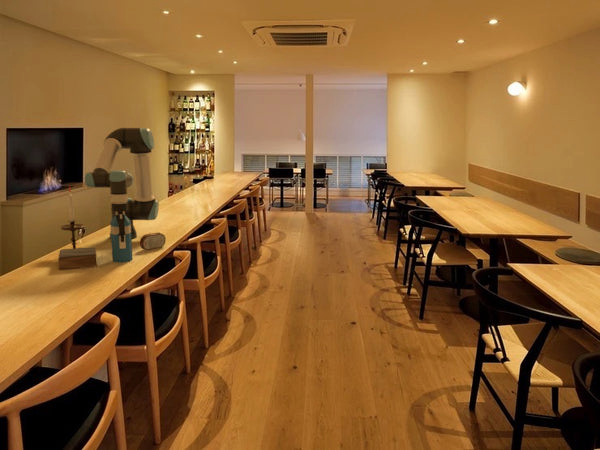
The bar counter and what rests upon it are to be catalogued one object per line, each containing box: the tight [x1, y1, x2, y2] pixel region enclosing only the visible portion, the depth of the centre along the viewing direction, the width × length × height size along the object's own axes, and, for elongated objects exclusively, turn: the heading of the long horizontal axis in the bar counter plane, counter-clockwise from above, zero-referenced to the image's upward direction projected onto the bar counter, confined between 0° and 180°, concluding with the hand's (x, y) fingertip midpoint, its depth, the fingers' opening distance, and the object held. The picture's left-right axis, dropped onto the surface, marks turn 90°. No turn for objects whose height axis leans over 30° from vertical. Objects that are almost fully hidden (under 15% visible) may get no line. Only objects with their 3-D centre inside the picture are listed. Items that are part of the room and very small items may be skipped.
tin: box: [139, 232, 166, 251], centre depth 265 cm, size 15×3×8 cm, turn 141°
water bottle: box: [109, 211, 133, 264], centre depth 239 cm, size 9×9×25 cm
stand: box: [57, 246, 98, 271], centre depth 233 cm, size 16×16×6 cm
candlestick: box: [60, 186, 85, 249], centre depth 250 cm, size 11×11×35 cm
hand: (121, 245), depth 240 cm, fingers open, 13 cm apart
